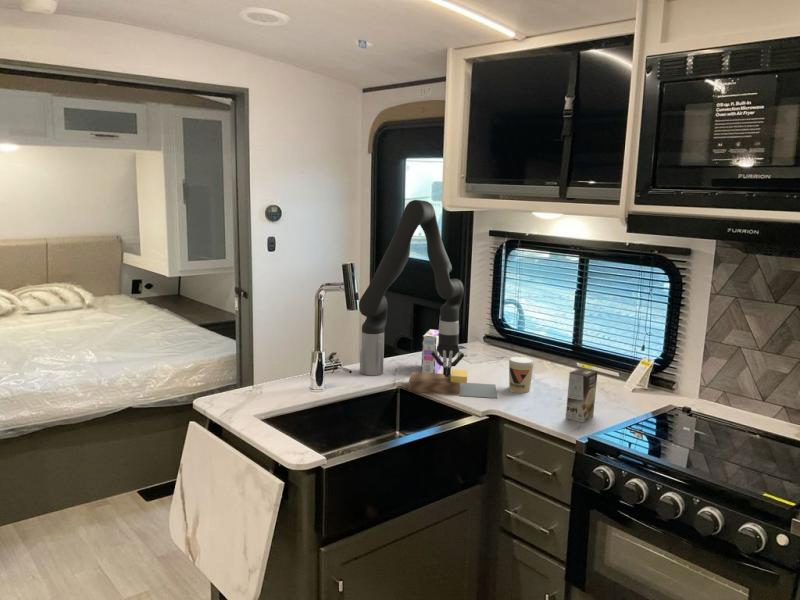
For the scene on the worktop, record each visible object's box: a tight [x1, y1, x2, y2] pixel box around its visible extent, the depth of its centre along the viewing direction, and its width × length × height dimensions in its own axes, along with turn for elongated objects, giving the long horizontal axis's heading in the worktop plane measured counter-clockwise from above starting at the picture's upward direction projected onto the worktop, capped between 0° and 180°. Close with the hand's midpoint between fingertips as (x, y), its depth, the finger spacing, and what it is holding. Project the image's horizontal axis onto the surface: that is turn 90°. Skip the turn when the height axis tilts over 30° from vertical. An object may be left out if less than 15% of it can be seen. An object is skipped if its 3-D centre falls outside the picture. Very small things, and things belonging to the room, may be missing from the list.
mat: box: [458, 382, 499, 400], centre depth 235 cm, size 14×16×1 cm
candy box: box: [420, 328, 442, 373], centre depth 258 cm, size 14×6×16 cm, turn 165°
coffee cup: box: [508, 356, 535, 394], centre depth 236 cm, size 9×9×12 cm
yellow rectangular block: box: [451, 368, 468, 383], centre depth 234 cm, size 6×9×2 cm, turn 173°
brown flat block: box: [408, 371, 460, 395], centre depth 236 cm, size 19×12×4 cm, turn 84°
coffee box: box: [565, 367, 598, 423], centre depth 208 cm, size 9×6×16 cm
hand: (446, 376), depth 235 cm, fingers closed
